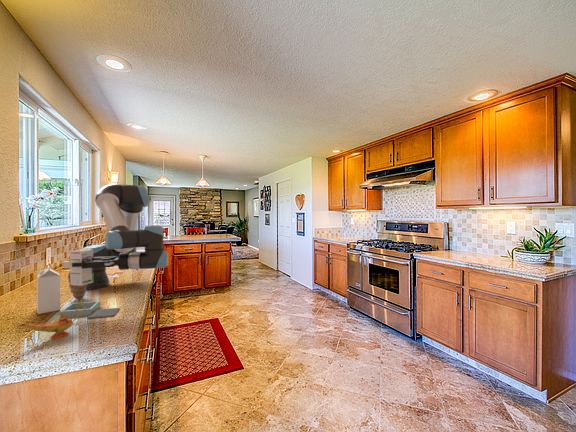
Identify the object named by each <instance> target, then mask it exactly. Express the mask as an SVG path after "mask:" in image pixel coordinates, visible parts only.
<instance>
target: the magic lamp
mask: <svg viewBox="0 0 576 432" xmlns="http://www.w3.org/2000/svg"><path fill="white" fill-rule="evenodd" d="M83 300H84V299H83V298H82V299H80V300H78V301H77V302H76V303H77V304H78V303H79V304H78V305H80V306H81V307H83V306H82V305H81V303H83V302H84V301H83ZM77 307H78V308H79V306H77ZM78 308H77V309H75V310H76V311H77V312H78V310H79V309H78ZM83 308H84V309H85V311H86V309H87V308H85V307H83ZM85 311H84V312H83V313H82V314H81V315H83V314H84V313H85ZM77 312H75V314H74V315H76V314H77ZM74 315H73V316H72V317H69V316H65V314H64V313H63V314H62V316H61V317H60V316H59V318H57V320H55V321H51V322H49V323H43V324H32V323H31V324H29V323H21V324H18V325H16V327H24V328H27V329H29V330H33V331H38V332H43V333H46V332H47V333H54V334H52V335H51V336H50V337H49V338H50V339H51V340H57V339H62V338H66V337H68V336H70V333H69V332H68V331H67V332H66V330H67V329H69V328H71V326H76V325H78V323H79V322H78V321H77V322H76V324H74V321H76V320H77V319H79V318H80V317H82V316H81V315H80V316H76V318H74ZM73 318H74V319H73ZM72 319H73V320H72Z"/></svg>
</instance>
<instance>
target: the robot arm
mask: <svg viewBox="0 0 576 432" xmlns="http://www.w3.org/2000/svg"><path fill="white" fill-rule="evenodd" d="M149 197H150V196H149V191H148V189H147V188H146V186H143V185H137V184H136V185H135V184H123V183H109V184H107V185H104V186H102V187H101V188H99V189H98V191H97V193H96V194H95V199H94V201H95V206H97V208H98V209H100V211H101V214H102V217H103V220H104V223H105V225H106V228H107V232H106V233H105V237H104V243H105V244H104V243H102V244H93V245H87V246H85V247H83V248H82V249H93V261H84V260H82V261H70V260H68V261H67V260H66V261H62V269H70V268H82V269H84V268H93V273H94V282H93V283H89V284H87V287H86V291H88V290H97V289H102V288H105V287H108V286H110V279H109V276H108V274H107V271H106V270H107V269H106V268H111V267H112V268H113V267H115V266H117V268H118V269H119V270H121V271H123V270H125V271H126V270H135V271H139V270H144V269H146V270H147V269H149V270H150V269H155V270H157V269H163V268H167V266H168V264H169V253H168V251H165V250H164V227H163V226H162V225H159V224H157V225H155V224H154V225H145V226H144V229H136V228H137V227H136V226H137V224H138V223H137V222H138V218H139V214H140V213H142V212H143V209H144V208H146V207H148V206H149V203H150V199H149ZM137 248H144V251H137ZM85 264H86V266H85Z"/></svg>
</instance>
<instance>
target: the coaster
mask: <svg viewBox="0 0 576 432" xmlns="http://www.w3.org/2000/svg"><path fill="white" fill-rule="evenodd" d="M120 309H121V308H120V307H114V308H113V307H112V308H98V309H97V310H95V311H94V312H93V313H92V314H91V315H87V317H86V318H87V319H88V320H89V319H99V318H100V319H101V318H113V317H115V315H116V314H117V313H118V312H119V310H120Z"/></svg>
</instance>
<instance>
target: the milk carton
mask: <svg viewBox="0 0 576 432" xmlns="http://www.w3.org/2000/svg"><path fill="white" fill-rule="evenodd" d="M36 281H37V282H36V312H37V315H40V314H46V313H52V312H57V311H61V275H60V273H59V272H57V271H55V270H54V269H52V268H51V267H50V266H49V264H48V265H47V267H46V268H45V269H44V268H42V269H41V270H39V271H38V273H37V276H36Z"/></svg>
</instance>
